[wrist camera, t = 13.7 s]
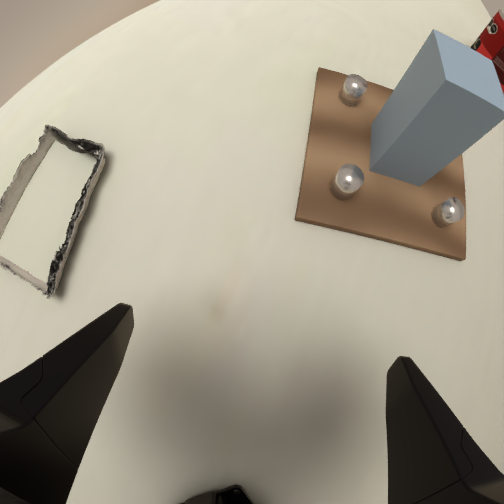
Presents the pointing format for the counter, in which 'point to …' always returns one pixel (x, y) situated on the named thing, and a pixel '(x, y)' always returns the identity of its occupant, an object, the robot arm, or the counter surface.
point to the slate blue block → (435, 111)
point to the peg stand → (373, 176)
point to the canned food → (493, 44)
